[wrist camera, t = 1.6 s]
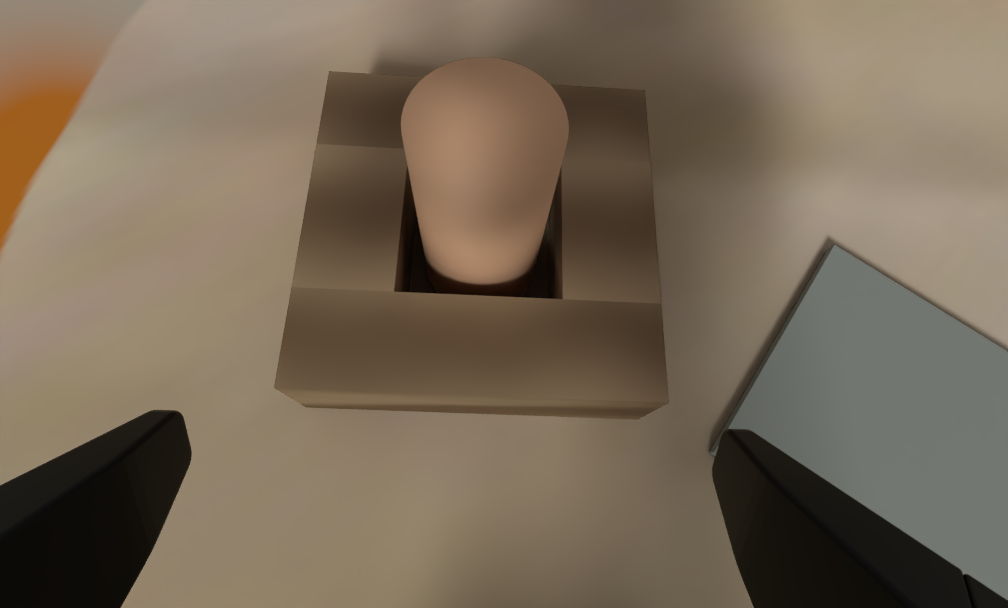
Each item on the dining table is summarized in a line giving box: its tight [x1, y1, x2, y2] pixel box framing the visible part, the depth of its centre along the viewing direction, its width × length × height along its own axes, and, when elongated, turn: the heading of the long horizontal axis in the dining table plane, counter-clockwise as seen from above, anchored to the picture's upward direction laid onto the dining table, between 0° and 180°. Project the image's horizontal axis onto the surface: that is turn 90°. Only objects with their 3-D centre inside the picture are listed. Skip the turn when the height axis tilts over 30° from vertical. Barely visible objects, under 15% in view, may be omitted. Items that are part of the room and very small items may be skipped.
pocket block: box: [274, 71, 669, 419], centre depth 24 cm, size 14×14×4 cm
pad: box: [709, 245, 1008, 600], centre depth 24 cm, size 12×12×1 cm
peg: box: [401, 57, 569, 297], centre depth 21 cm, size 5×5×10 cm
